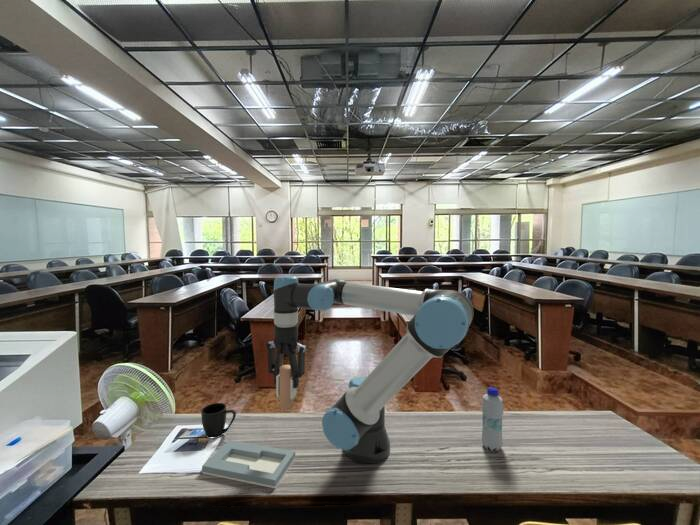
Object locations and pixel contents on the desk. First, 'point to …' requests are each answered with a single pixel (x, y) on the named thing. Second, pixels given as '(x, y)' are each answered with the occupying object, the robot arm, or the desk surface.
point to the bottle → (492, 419)
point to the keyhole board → (250, 463)
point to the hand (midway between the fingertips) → (286, 395)
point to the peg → (285, 388)
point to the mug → (215, 419)
